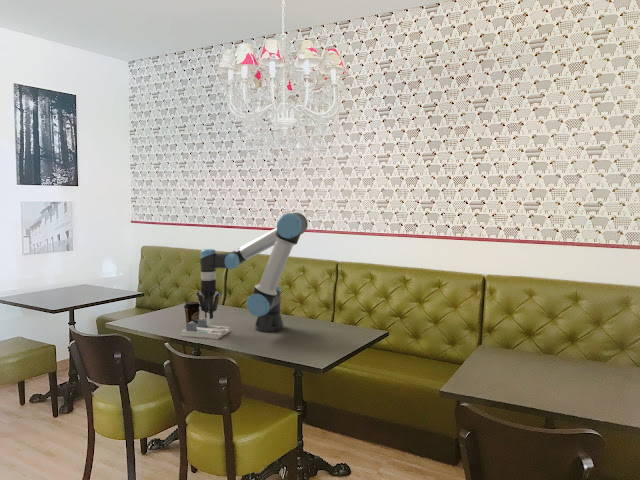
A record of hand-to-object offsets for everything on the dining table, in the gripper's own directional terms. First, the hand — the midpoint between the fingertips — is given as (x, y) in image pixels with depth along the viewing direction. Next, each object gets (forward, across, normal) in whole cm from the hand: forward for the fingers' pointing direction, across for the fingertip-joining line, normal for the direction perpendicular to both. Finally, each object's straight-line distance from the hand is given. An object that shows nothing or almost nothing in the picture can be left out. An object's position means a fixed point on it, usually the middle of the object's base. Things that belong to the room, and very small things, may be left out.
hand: (209, 324), depth 256 cm
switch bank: (+4, 0, +4) cm, 5 cm away
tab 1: (+2, +6, +8) cm, 10 cm away
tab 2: (+2, +4, 0) cm, 4 cm away
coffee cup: (+4, +14, -7) cm, 16 cm away
